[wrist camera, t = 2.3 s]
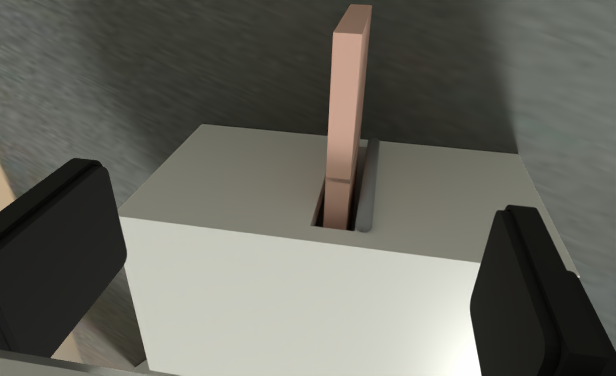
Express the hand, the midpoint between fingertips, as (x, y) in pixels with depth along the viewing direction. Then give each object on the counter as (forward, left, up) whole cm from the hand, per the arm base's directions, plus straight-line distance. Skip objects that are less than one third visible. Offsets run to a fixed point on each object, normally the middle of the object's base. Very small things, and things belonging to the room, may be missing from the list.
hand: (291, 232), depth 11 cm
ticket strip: (0, +7, -18) cm, 19 cm away
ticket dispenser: (0, +13, -20) cm, 24 cm away
